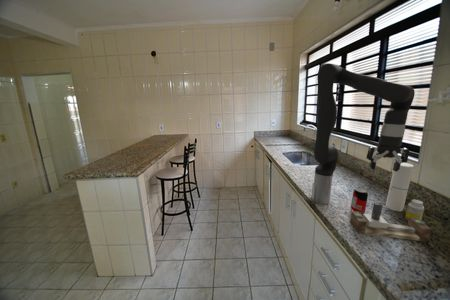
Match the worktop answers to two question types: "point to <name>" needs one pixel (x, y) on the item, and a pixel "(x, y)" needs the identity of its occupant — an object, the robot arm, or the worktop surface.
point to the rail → (391, 233)
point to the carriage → (376, 217)
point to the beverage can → (359, 200)
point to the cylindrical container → (399, 187)
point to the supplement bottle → (415, 209)
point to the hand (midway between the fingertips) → (383, 170)
